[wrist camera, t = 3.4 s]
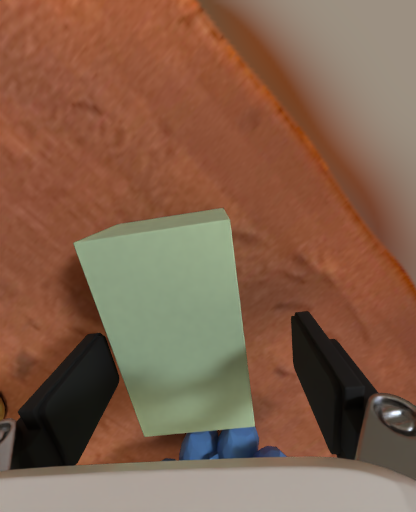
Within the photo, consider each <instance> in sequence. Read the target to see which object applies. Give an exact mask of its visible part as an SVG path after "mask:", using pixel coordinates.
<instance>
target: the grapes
mask: <svg viewBox="0 0 416 512" xmlns="http://www.w3.org/2000/svg"><path fill="white" fill-rule="evenodd" d="M258 444H259V437H258V434H257V431H256V428H255V427H246V428H235V429H224V430H222V432H221V434H220V435H219V437H218V433H217V431H216V430H213V431H202V432H191V433H187V434H186V436H185V438H184V440H183V441H182V445H181V449H180V454H179V460H180V461H182V460H206V459H233V458H259V457H287V456H286V455H285V454H283V453H282V452H281V451H280V450H279V449H278V448H277V447H272V446H266V447H264V448H261V449H260V450H259V451H258ZM162 461H176V460H175V459H168V458H166V459H164V460H162Z"/></svg>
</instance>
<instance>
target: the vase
mask: <svg viewBox="0 0 416 512" xmlns="http://www.w3.org/2000/svg"><path fill="white" fill-rule="evenodd" d="M4 414H5V406H4V403H3V401H2V399H1V397H0V421H1V420H3V418H4Z"/></svg>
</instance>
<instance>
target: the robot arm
mask: <svg viewBox="0 0 416 512" xmlns="http://www.w3.org/2000/svg"><path fill="white" fill-rule="evenodd" d="M291 326H292V349H293V364H294V368H295V371H296V373H297V376H298V378H299V380H300V383H301V385H302V387H303V390H304V392H305V394H306V397H307V399H308V401H309V404H310V406H311V409H312V411H313V413H314V416H315V418H316V420H317V423H318V425H319V427H320V430H321V432H322V434H323V437H324V439H325V441H326V444H327V446H328V448H329V450H330V452H331V454H336V455H337V457H338V458H334V457H259V458H233V459H206V460H182V461H159V462H137V463H115V464H95V465H76V464H77V463H78V461H79V459H80V457H81V455H82V453H83V451H84V450H85V448H86V446H87V444H88V442H89V440H90V438H91V436H92V434H93V432H94V430H95V428H96V426H97V424H98V422H99V421H100V419H101V417H102V415H103V413H104V411H105V409H106V407H107V405H108V403H109V401H110V399H111V397H112V395H113V393H114V391H115V390H116V388H117V386H118V383H119V374H118V371H117V369H116V366H115V363H114V360H113V357H112V354H111V351H110V349H109V346H108V343H107V340H106V337H105V336H103V335H102V334H101V333H94V334H88V335H87V336H86V337H85V338H84V339H83V340H82V341H81V342H80V343H79V344H78V346H77V347H76V348H75V349H74V350H73V351H72V352H71V353H70V354H69V356H68V357H67V358H66V359H65V360H64V361H63V362H62V363H61V364H60V365H59V367H58V368H57V369H56V370H55V371H54V372H53V373H52V374H51V375H50V376H49V378H48V379H47V380H46V381H45V382H44V383H43V384H42V385H41V386H40V387H39V389H38V390H37V391H36V392H35V393H34V394H33V395H32V396H31V397H30V398H29V400H28V401H27V402H26V403H25V404H24V405H23V406H22V407H21V408H20V409H19V411H18V413H19V415H20V418H19V419H18V420H17V421H16V420H14V419H12V418H8V419H4V420H1V421H0V512H416V406H415V405H413V404H412V403H410V402H409V401H407V400H405V399H403V398H401V397H399V396H395V395H392V394H387V393H378V392H377V391H376V389H375V388H374V387H373V386H372V384H371V383H370V382H369V380H368V379H367V378H366V377H365V375H364V374H363V373H362V372H361V370H360V369H359V368H358V367H357V365H356V364H355V363H354V361H353V360H352V359H351V358H350V356H349V355H348V354H347V353H346V351H345V350H344V349H343V348H342V346H341V345H340V344H339V342H338V341H337V340H335V339H329V338H328V337H327V336H326V334H325V333H324V332H323V330H322V329H321V327H320V326H319V325H318V323H317V322H316V321H315V319H314V318H313V317H312V315H311V314H310V313H309V312H308V311H305V312H296V313H295V316H291ZM74 465H76V466H74Z"/></svg>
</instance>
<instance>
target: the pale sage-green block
mask: <svg viewBox="0 0 416 512" xmlns="http://www.w3.org/2000/svg"><path fill="white" fill-rule="evenodd" d="M73 244H74V247H75V250H76V252H77V255H78V258H79V261H80V263H81V266H82V269H83V271H84V274H85V277H86V280H87V282H88V285H89V288H90V290H91V293H92V296H93V299H94V301H95V304H96V307H97V309H98V312H99V315H100V318H101V320H102V323H103V326H104V328H105V331H106V334H107V337H108V339H109V342H110V345H111V347H112V350H113V353H114V356H115V358H116V361H117V364H118V366H119V369H120V372H121V375H122V377H123V380H124V383H125V385H126V388H127V391H128V394H129V396H130V399H131V402H132V404H133V407H134V410H135V413H136V415H137V418H138V421H139V423H140V426H141V429H142V432H143V434H144V437H148V436H159V435H169V434H180V433H191V432H202V431H213V430H224V429H235V428H246V427H255V423H254V414H253V406H252V398H251V389H250V381H249V373H248V365H247V356H246V348H245V340H244V332H243V323H242V315H241V307H240V299H239V290H238V282H237V274H236V265H235V257H234V249H233V241H232V232H231V224H230V219H229V217H228V216H227V214H226V212H225V210H224V208H220V209H213V210H207V211H200V212H194V213H187V214H181V215H174V216H168V217H162V218H155V219H149V220H142V221H136V222H129V223H123V224H117V225H115V226H112V227H110V228H108V229H105V230H103V231H100V232H98V233H96V234H93V235H91V236H88V237H86V238H84V239H81V240H79V241H76V242H74V243H73Z"/></svg>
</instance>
